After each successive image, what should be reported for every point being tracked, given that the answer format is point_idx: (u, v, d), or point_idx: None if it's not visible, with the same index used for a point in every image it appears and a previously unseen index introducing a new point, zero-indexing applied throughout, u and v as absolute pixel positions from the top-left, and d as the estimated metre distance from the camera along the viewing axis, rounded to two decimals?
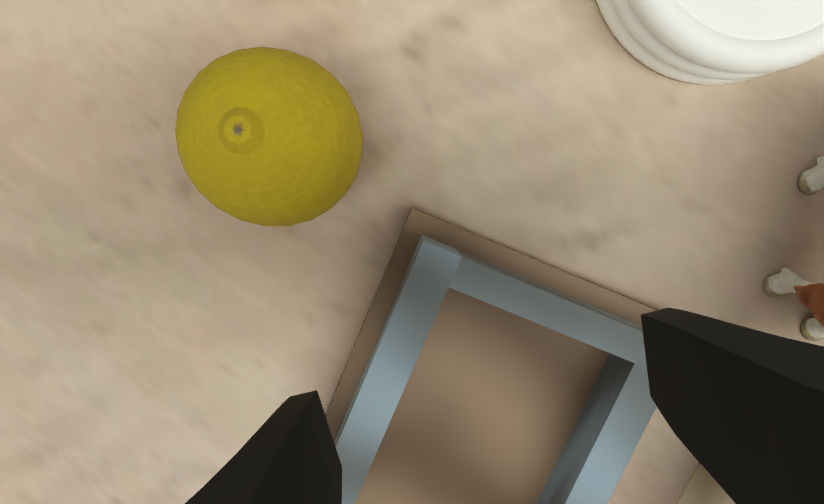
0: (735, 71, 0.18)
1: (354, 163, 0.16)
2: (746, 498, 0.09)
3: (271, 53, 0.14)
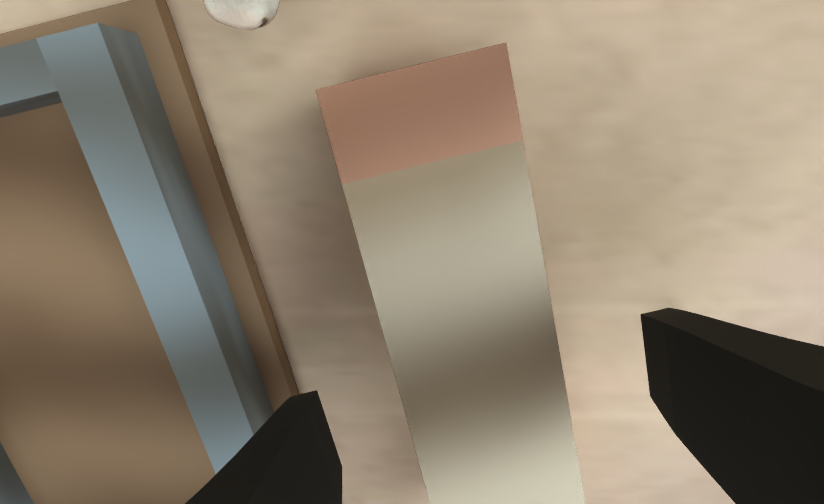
0: None
1: None
2: (746, 498, 0.09)
3: None
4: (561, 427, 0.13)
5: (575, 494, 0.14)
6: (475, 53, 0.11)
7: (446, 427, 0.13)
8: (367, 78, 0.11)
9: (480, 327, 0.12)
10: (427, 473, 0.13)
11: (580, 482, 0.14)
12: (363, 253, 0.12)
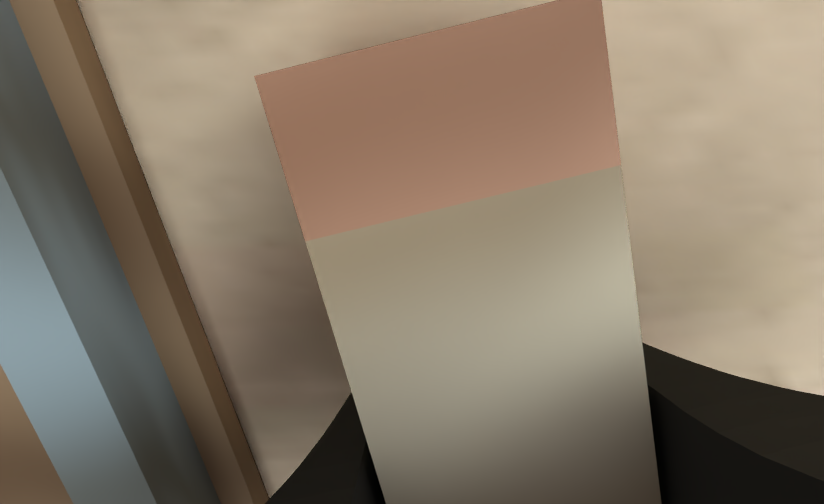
0: None
1: None
2: None
3: None
4: None
5: None
6: (543, 9, 0.06)
7: None
8: (347, 55, 0.06)
9: (535, 465, 0.08)
10: None
11: None
12: (344, 353, 0.07)
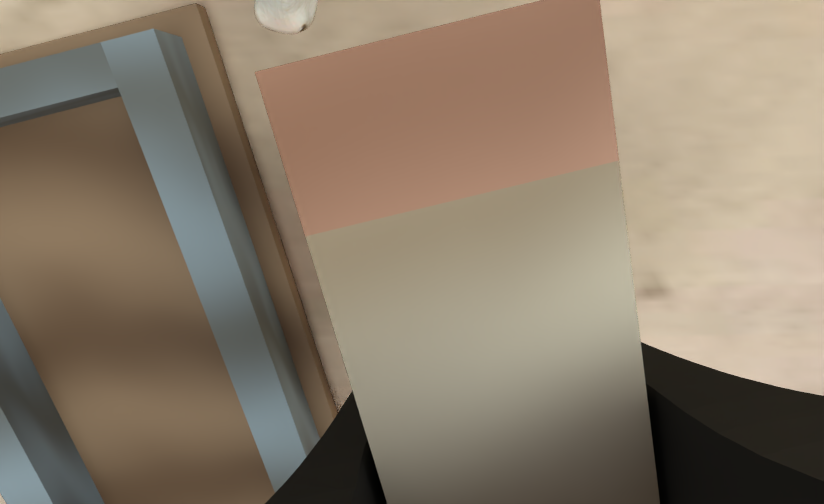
0: None
1: None
2: None
3: None
4: None
5: None
6: (542, 6, 0.06)
7: None
8: (347, 51, 0.06)
9: (534, 460, 0.08)
10: None
11: None
12: (344, 348, 0.07)
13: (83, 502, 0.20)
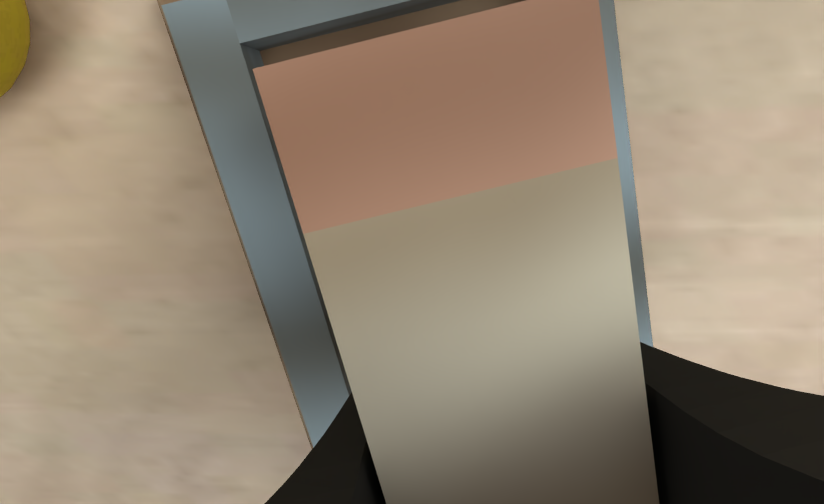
0: None
1: None
2: None
3: None
4: None
5: None
6: (540, 2, 0.06)
7: None
8: (345, 48, 0.06)
9: (532, 458, 0.08)
10: None
11: None
12: (342, 346, 0.07)
13: None
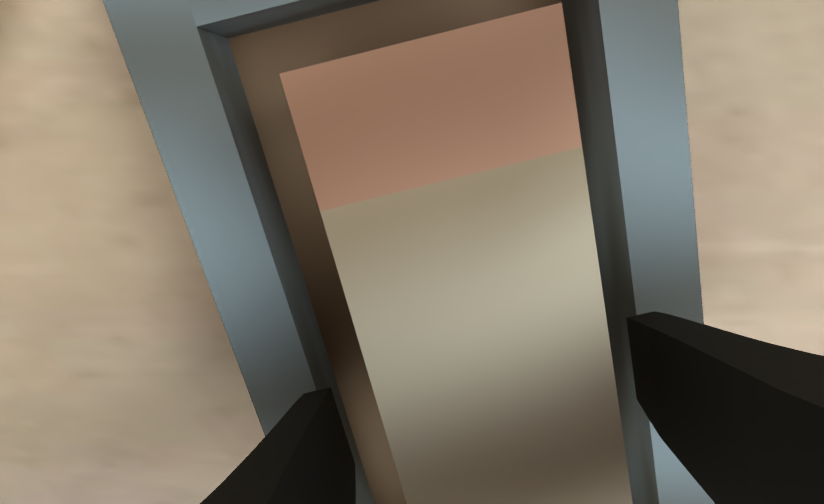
0: None
1: None
2: (728, 502, 0.09)
3: None
4: None
5: None
6: (516, 19, 0.07)
7: None
8: (355, 56, 0.07)
9: (515, 405, 0.09)
10: None
11: None
12: (352, 307, 0.08)
13: None
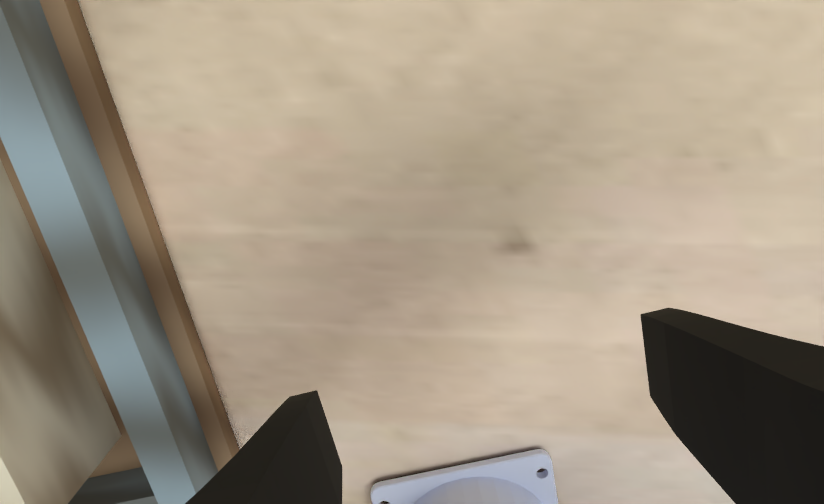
0: None
1: None
2: (746, 498, 0.09)
3: None
4: None
5: None
6: None
7: None
8: None
9: None
10: None
11: (0, 457, 0.15)
12: None
13: None
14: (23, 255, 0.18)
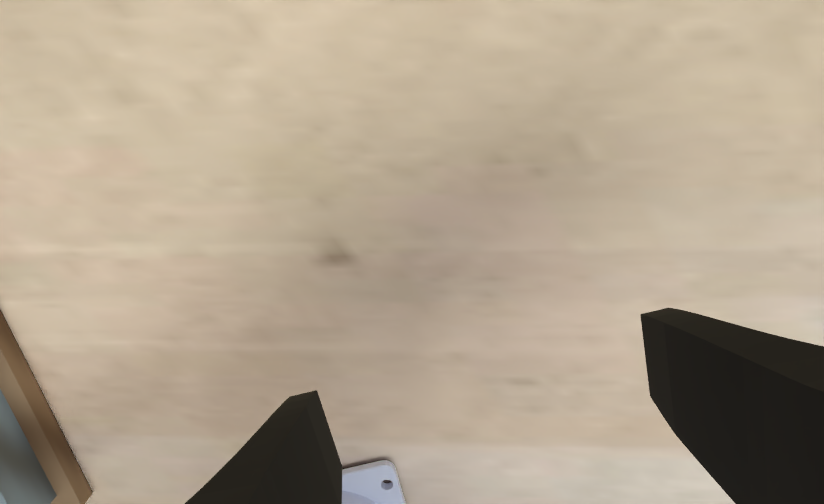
0: None
1: None
2: (746, 498, 0.09)
3: None
4: None
5: None
6: None
7: None
8: None
9: None
10: None
11: None
12: None
13: None
14: None
